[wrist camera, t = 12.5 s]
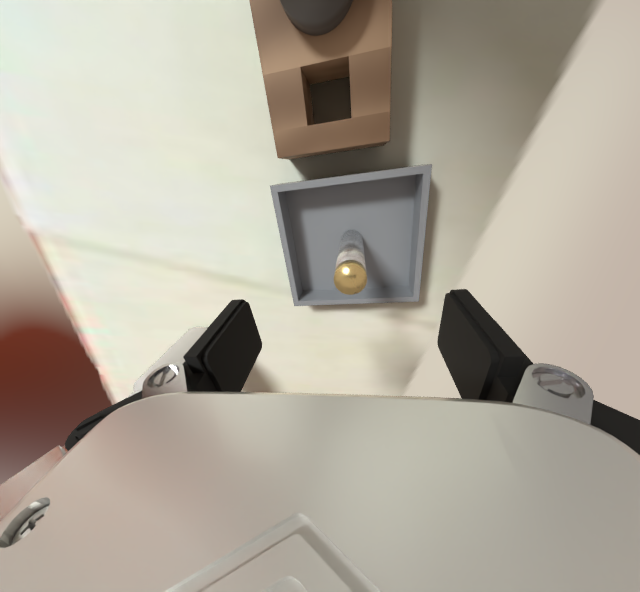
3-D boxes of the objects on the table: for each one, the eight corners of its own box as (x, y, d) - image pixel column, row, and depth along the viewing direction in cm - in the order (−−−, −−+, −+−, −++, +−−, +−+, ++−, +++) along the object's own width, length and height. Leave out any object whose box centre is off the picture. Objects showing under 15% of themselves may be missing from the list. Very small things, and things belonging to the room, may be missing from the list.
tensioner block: (259, -29, 17) (215, -120, 12) (385, -67, 15) (402, -194, 10) (289, 159, 23) (269, 156, 17) (383, 145, 21) (393, 137, 16)
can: (235, 332, 35) (185, 402, 24) (230, 365, 38) (184, 438, 28) (188, 316, 34) (116, 381, 24) (187, 351, 38) (124, 419, 28)
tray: (279, 183, 24) (270, 185, 21) (422, 164, 21) (431, 164, 19) (299, 293, 30) (294, 305, 27) (412, 288, 27) (418, 301, 25)
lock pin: (339, 230, 25) (332, 266, 16) (362, 228, 24) (366, 263, 16) (341, 252, 26) (335, 295, 17) (363, 250, 26) (367, 293, 17)
